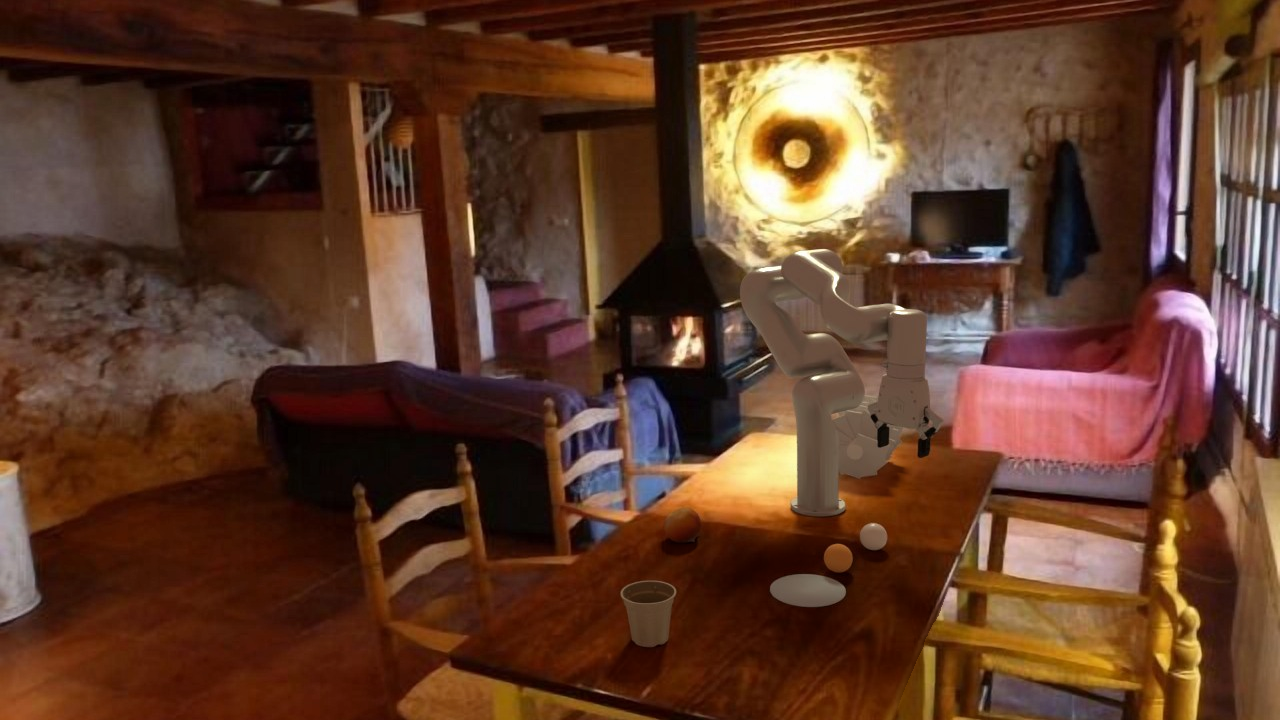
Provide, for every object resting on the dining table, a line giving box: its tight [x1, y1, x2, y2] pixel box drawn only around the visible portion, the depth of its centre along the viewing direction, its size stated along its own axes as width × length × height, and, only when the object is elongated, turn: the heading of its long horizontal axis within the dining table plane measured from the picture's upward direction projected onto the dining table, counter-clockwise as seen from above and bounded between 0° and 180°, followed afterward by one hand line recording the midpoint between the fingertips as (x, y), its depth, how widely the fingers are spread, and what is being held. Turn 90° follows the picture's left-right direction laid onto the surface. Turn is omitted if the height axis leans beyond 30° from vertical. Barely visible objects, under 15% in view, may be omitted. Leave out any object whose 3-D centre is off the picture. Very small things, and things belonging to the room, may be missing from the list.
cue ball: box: [859, 522, 888, 551], centre depth 196 cm, size 6×6×6 cm
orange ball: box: [823, 543, 854, 573], centre depth 186 cm, size 6×6×6 cm
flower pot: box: [620, 580, 677, 648], centre depth 162 cm, size 9×9×9 cm
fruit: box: [663, 506, 702, 544], centre depth 206 cm, size 8×8×8 cm
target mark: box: [769, 573, 847, 608], centre depth 179 cm, size 14×14×1 cm
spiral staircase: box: [832, 394, 904, 480], centre depth 249 cm, size 18×18×25 cm
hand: (902, 451), depth 197 cm, fingers open, 9 cm apart
